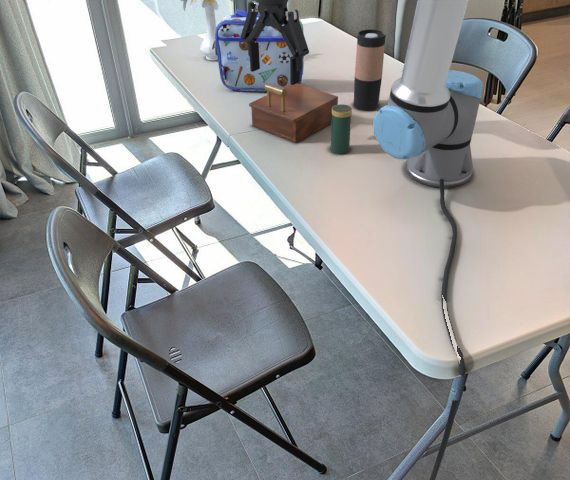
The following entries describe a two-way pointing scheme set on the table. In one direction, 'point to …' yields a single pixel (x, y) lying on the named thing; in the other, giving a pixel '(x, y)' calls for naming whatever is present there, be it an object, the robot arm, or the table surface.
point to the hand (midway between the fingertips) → (274, 76)
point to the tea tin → (340, 128)
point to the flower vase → (207, 43)
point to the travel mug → (368, 69)
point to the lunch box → (238, 61)
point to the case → (291, 129)
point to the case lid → (292, 101)
